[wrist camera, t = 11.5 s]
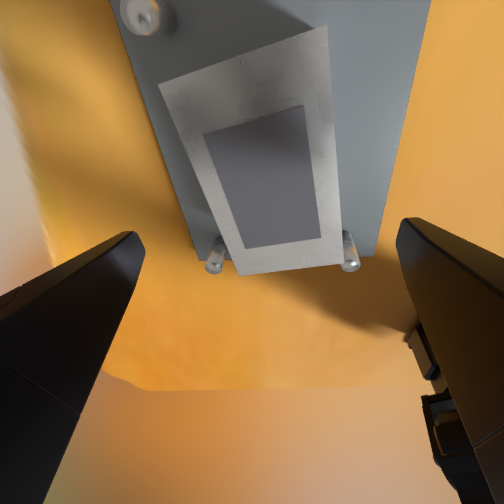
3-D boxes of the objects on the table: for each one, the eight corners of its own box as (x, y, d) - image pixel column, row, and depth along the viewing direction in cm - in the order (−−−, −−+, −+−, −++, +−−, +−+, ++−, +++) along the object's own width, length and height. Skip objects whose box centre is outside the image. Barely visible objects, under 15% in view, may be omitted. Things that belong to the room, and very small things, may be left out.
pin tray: (443, -104, 10) (515, -169, 7) (370, 248, 20) (384, 285, 17) (111, -26, 12) (50, -47, 9) (202, 253, 23) (188, 286, 20)
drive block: (314, 28, 12) (327, 24, 8) (332, 214, 18) (344, 264, 14) (195, 70, 13) (156, 85, 9) (249, 228, 19) (238, 277, 15)
